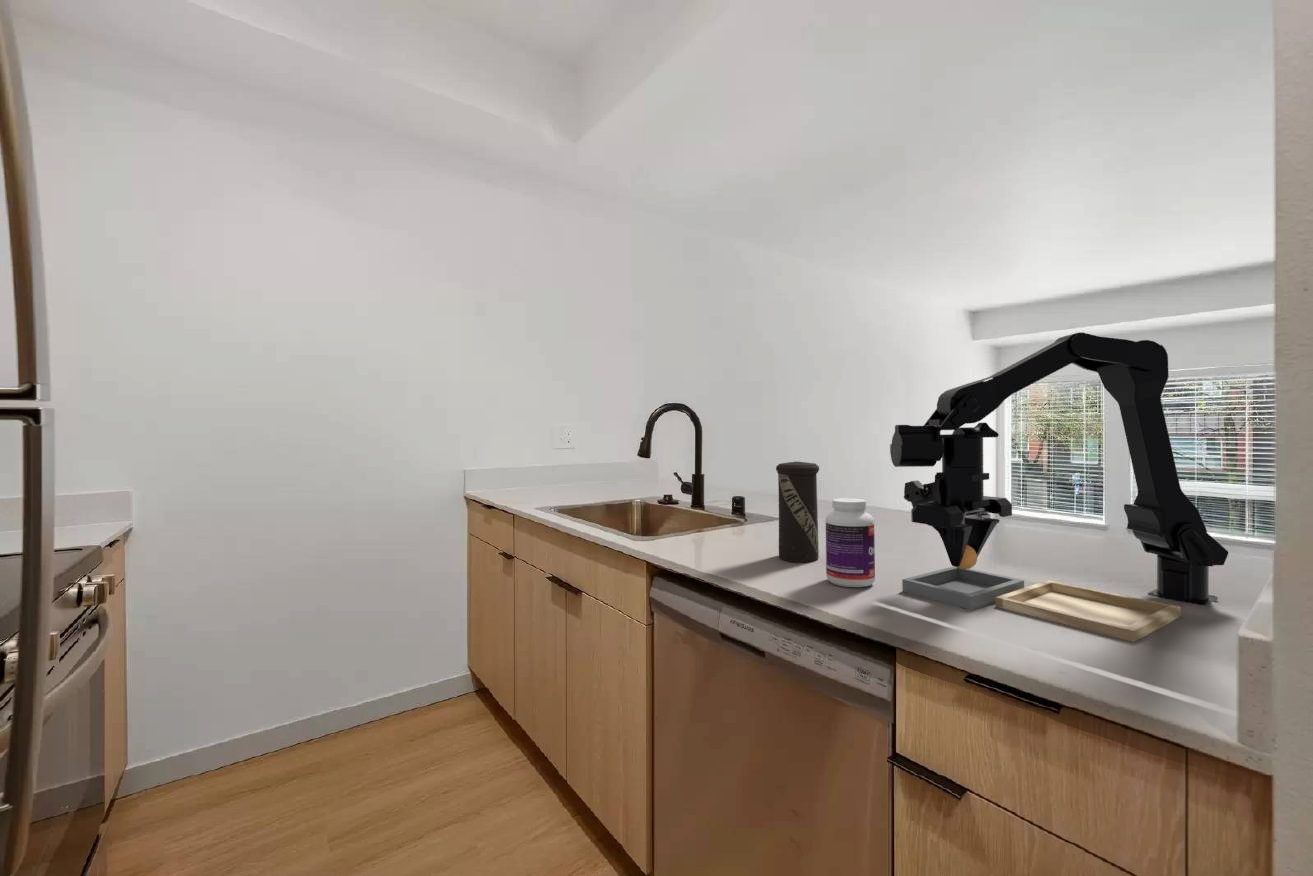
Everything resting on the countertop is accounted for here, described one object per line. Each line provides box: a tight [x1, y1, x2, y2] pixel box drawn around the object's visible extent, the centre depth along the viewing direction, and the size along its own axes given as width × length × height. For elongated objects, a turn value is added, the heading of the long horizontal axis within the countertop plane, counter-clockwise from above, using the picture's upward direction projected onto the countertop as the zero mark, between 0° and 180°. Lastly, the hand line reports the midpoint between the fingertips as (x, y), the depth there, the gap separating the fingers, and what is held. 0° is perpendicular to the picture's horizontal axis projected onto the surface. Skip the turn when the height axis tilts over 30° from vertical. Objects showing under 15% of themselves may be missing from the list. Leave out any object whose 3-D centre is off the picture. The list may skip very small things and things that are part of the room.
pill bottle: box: [825, 497, 876, 588], centre depth 95 cm, size 8×8×14 cm
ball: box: [955, 545, 978, 569], centre depth 87 cm, size 4×4×4 cm
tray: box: [901, 566, 1025, 611], centre depth 87 cm, size 15×11×2 cm
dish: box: [994, 579, 1182, 643], centre depth 77 cm, size 16×16×2 cm
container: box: [775, 461, 820, 563], centre depth 113 cm, size 9×9×20 cm
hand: (963, 564), depth 87 cm, fingers closed on ball, 4 cm apart
